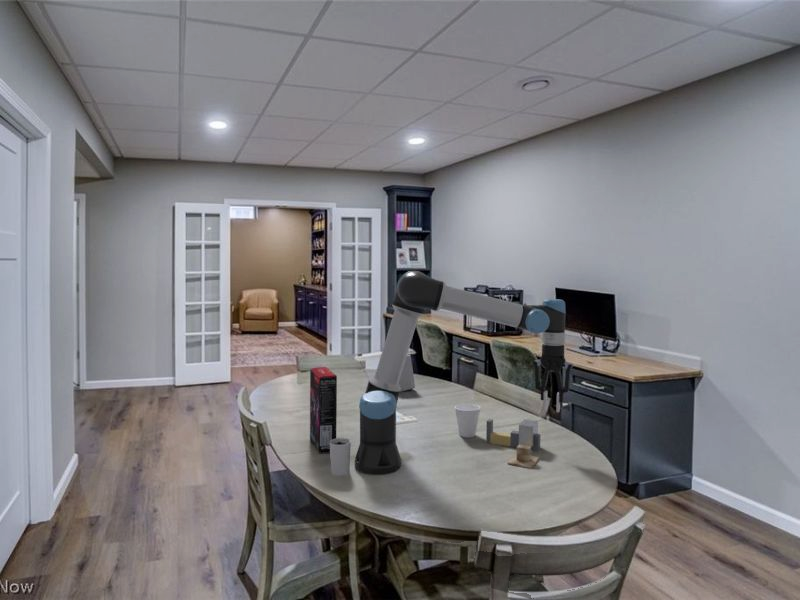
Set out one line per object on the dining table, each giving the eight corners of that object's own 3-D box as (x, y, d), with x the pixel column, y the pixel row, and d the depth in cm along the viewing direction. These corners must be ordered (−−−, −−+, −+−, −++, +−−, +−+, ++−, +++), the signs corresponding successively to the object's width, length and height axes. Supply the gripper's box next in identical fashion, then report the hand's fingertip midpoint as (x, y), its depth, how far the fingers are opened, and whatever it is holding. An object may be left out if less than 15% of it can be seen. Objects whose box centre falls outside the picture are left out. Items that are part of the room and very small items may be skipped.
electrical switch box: (378, 391, 290) (372, 354, 288) (403, 384, 296) (398, 348, 294) (389, 397, 277) (383, 359, 274) (415, 390, 283) (410, 352, 280)
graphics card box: (308, 439, 206) (308, 367, 204) (327, 437, 209) (326, 366, 207) (318, 455, 190) (318, 376, 188) (338, 452, 193) (338, 375, 191)
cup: (459, 440, 206) (460, 411, 205) (450, 432, 215) (450, 404, 214) (484, 438, 208) (485, 409, 207) (474, 430, 218) (474, 403, 217)
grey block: (518, 444, 196) (518, 424, 195) (523, 438, 202) (524, 419, 202) (532, 446, 194) (533, 426, 193) (537, 440, 200) (538, 421, 200)
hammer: (486, 442, 204) (486, 421, 203) (488, 440, 206) (489, 419, 206) (538, 450, 195) (538, 428, 194) (540, 448, 198) (540, 426, 197)
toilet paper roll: (325, 472, 175) (325, 441, 174) (342, 466, 180) (341, 436, 179) (338, 478, 170) (338, 446, 170) (355, 472, 175) (355, 441, 174)
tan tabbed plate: (507, 464, 182) (507, 449, 182) (515, 454, 191) (516, 440, 191) (531, 468, 179) (532, 453, 178) (539, 458, 188) (539, 444, 187)
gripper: (526, 343, 192) (525, 410, 194) (576, 347, 185) (574, 416, 186) (531, 340, 199) (530, 405, 201) (580, 344, 191) (578, 410, 193)
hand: (551, 410), depth 193 cm, fingers open, 4 cm apart
